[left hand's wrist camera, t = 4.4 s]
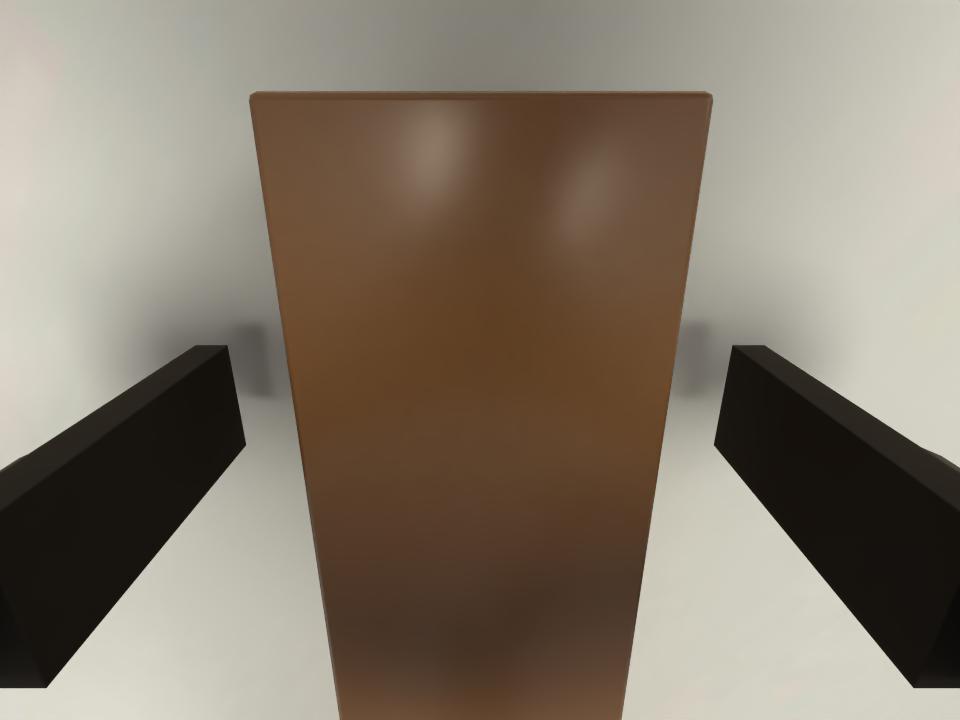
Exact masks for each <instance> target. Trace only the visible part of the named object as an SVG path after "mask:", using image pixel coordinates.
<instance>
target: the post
mask: <svg viewBox="0 0 960 720" xmlns="http://www.w3.org/2000/svg"><path fill="white" fill-rule="evenodd" d="M249 103H250V110H251V117H252V124H253V131H254V137H255V144H256V151H257V158H258V165H259V172H260V178H261V185H262V192H263V199H264V206H265V212H266V219H267V226H268V233H269V240H270V247H271V253H272V260H273V267H274V274H275V281H276V287H277V294H278V301H279V308H280V315H281V322H282V328H283V335H284V342H285V349H286V356H287V362H288V369H289V376H290V383H291V390H292V396H293V403H294V410H295V417H296V424H297V431H298V437H299V444H300V451H301V458H302V465H303V471H304V478H305V485H306V492H307V499H308V506H309V512H310V519H311V526H312V533H313V540H314V546H315V553H316V560H317V567H318V574H319V581H320V587H321V594H322V601H323V608H324V615H325V621H326V628H327V635H328V642H329V649H330V655H331V662H332V669H333V676H334V683H335V690H336V696H337V703H338V710H339V717H340V720H621V719H622V712H623V705H624V699H625V692H626V685H627V678H628V672H629V665H630V658H631V651H632V645H633V638H634V631H635V624H636V618H637V611H638V604H639V597H640V591H641V584H642V577H643V570H644V564H645V557H646V550H647V543H648V537H649V530H650V523H651V516H652V509H653V503H654V496H655V489H656V482H657V476H658V469H659V462H660V455H661V449H662V442H663V435H664V428H665V422H666V415H667V408H668V401H669V395H670V388H671V381H672V374H673V368H674V361H675V354H676V347H677V341H678V334H679V327H680V320H681V314H682V307H683V300H684V293H685V287H686V280H687V273H688V266H689V260H690V253H691V246H692V239H693V233H694V226H695V219H696V212H697V206H698V199H699V192H700V185H701V179H702V172H703V165H704V158H705V152H706V145H707V138H708V131H709V125H710V118H711V111H712V104H713V98H712V95H711V94H710V93H708V92H706V91H257V92H255V93H253V94H251V95H250V99H249Z"/></svg>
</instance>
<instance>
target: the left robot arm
mask: <svg viewBox="0 0 960 720" xmlns="http://www.w3.org/2000/svg"><path fill="white" fill-rule="evenodd" d="M245 446H246V441H245V436H244V431H243V425H242V420H241V415H240V410H239V404H238V399H237V394H236V388H235V383H234V378H233V372H232V367H231V362H230V356H229V351H228V346H227V345H196V346H194V347H192V348H191V349H189V350H188V351H186V352H185V353H183V354H182V355H180V356H179V357H177V358H176V359H174V360H172V361H171V362H169V363H168V364H166V365H165V366H163V367H162V368H160V369H159V370H157V371H156V372H154V373H153V374H151V375H149V376H148V377H146V378H145V379H143V380H142V381H140V382H139V383H137V384H136V385H134V386H133V387H131V388H129V389H128V390H126V391H125V392H123V393H122V394H120V395H119V396H117V397H116V398H114V399H113V400H111V401H109V402H108V403H106V404H105V405H103V406H102V407H100V408H99V409H97V410H96V411H94V412H93V413H91V414H89V415H88V416H86V417H85V418H83V419H82V420H80V421H79V422H77V423H76V424H74V425H73V426H71V427H70V428H68V429H66V430H65V431H63V432H62V433H60V434H59V435H57V436H56V437H54V438H53V439H51V440H50V441H48V442H46V443H45V444H43V445H42V446H40V447H39V448H37V449H36V450H34V451H33V452H31V453H30V454H28V455H25V456H23V457H21V458H19V459H17V460H16V461H14V462H13V463H11V464H10V465H8V466H6V467H5V468H3V469H2V470H0V688H47V687H48V685H49V684H50V683H51V682H52V681H53V679H54V678H55V677H56V676H57V675H58V673H59V672H60V671H61V670H62V668H63V667H64V666H65V665H66V664H67V662H68V661H69V660H70V659H71V657H72V656H73V655H74V654H75V653H76V651H77V650H78V649H79V648H80V647H81V645H82V644H83V643H84V642H85V640H86V639H87V638H88V637H89V636H90V634H91V633H92V632H93V631H94V630H95V628H96V627H97V626H98V625H99V623H100V622H101V621H102V620H103V619H104V617H105V616H106V615H107V614H108V612H109V611H110V610H111V609H112V608H113V606H114V605H115V604H116V603H117V602H118V600H119V599H120V598H121V597H122V595H123V594H124V593H125V592H126V591H127V589H128V588H129V587H130V586H131V584H132V583H133V582H134V581H135V580H136V578H137V577H138V576H139V575H140V574H141V572H142V571H143V570H144V569H145V567H146V566H147V565H148V564H149V563H150V561H151V560H152V559H153V558H154V557H155V555H156V554H157V553H158V552H159V550H160V549H161V548H162V547H163V546H164V544H165V543H166V542H167V541H168V539H169V538H170V537H171V536H172V535H173V533H174V532H175V531H176V530H177V529H178V527H179V526H180V525H181V524H182V522H183V521H184V520H185V519H186V518H187V516H188V515H189V514H190V513H191V511H192V510H193V509H194V508H195V507H196V505H197V504H198V503H199V502H200V501H201V499H202V498H203V497H204V496H205V494H206V493H207V492H208V491H209V490H210V488H211V487H212V486H213V485H214V483H215V482H216V481H217V480H218V479H219V477H220V476H221V475H222V474H223V473H224V471H225V470H226V469H227V468H228V466H229V465H230V464H231V463H232V462H233V460H234V459H235V458H236V457H237V456H238V454H239V453H240V452H241V451H242V449H243V448H244V447H245ZM714 446H715V447H716V448H717V449H718V451H719V452H720V453H721V454H722V455H723V457H724V458H725V459H726V460H727V462H728V463H729V464H730V465H731V466H732V468H733V469H734V470H735V471H736V473H737V474H738V475H739V476H740V477H741V479H742V480H743V481H744V482H745V483H746V485H747V486H748V487H749V488H750V490H751V491H752V492H753V493H754V494H755V496H756V497H757V498H758V499H759V501H760V502H761V503H762V504H763V505H764V507H765V508H766V509H767V510H768V511H769V513H770V514H771V515H772V516H773V518H774V519H775V520H776V521H777V522H778V524H779V525H780V526H781V527H782V529H783V530H784V531H785V532H786V533H787V535H788V536H789V537H790V538H791V539H792V541H793V542H794V543H795V544H796V546H797V547H798V548H799V549H800V550H801V552H802V553H803V554H804V555H805V556H806V558H807V559H808V560H809V561H810V563H811V564H812V565H813V566H814V567H815V569H816V570H817V571H818V572H819V574H820V575H821V576H822V577H823V578H824V580H825V581H826V582H827V583H828V584H829V586H830V587H831V588H832V589H833V591H834V592H835V593H836V594H837V595H838V597H839V598H840V599H841V600H842V602H843V603H844V604H845V605H846V606H847V608H848V609H849V610H850V611H851V612H852V614H853V615H854V616H855V617H856V619H857V620H858V621H859V622H860V623H861V625H862V626H863V627H864V628H865V629H866V631H867V632H868V633H869V634H870V636H871V637H872V638H873V639H874V640H875V642H876V643H877V644H878V645H879V647H880V648H881V649H882V650H883V651H884V653H885V654H886V655H887V656H888V657H889V659H890V660H891V661H892V662H893V664H894V665H895V666H896V667H897V668H898V670H899V671H900V672H901V673H902V675H903V676H904V677H905V678H906V679H907V681H908V682H909V683H910V684H911V685H912V687H913V688H960V468H959V467H958V466H956V465H955V464H953V463H951V462H950V461H948V460H947V459H945V458H944V457H942V456H940V455H938V454H935V453H933V452H931V451H928V450H926V449H924V448H922V447H920V446H918V445H917V444H915V443H914V442H912V441H910V440H909V439H907V438H906V437H904V436H903V435H901V434H900V433H898V432H897V431H895V430H894V429H892V428H891V427H889V426H887V425H886V424H884V423H883V422H881V421H880V420H878V419H877V418H875V417H874V416H872V415H871V414H869V413H867V412H866V411H864V410H863V409H861V408H860V407H858V406H857V405H855V404H854V403H852V402H851V401H849V400H847V399H846V398H844V397H843V396H841V395H840V394H838V393H837V392H835V391H834V390H832V389H831V388H829V387H827V386H826V385H824V384H823V383H821V382H820V381H818V380H817V379H815V378H814V377H812V376H811V375H809V374H808V373H806V372H804V371H803V370H801V369H800V368H798V367H797V366H795V365H794V364H792V363H791V362H789V361H788V360H786V359H784V358H783V357H781V356H780V355H778V354H777V353H775V352H774V351H772V350H771V349H769V348H768V347H766V346H764V345H733V346H732V351H731V356H730V362H729V367H728V372H727V378H726V383H725V388H724V394H723V399H722V404H721V410H720V415H719V420H718V426H717V431H716V436H715V441H714Z"/></svg>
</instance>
